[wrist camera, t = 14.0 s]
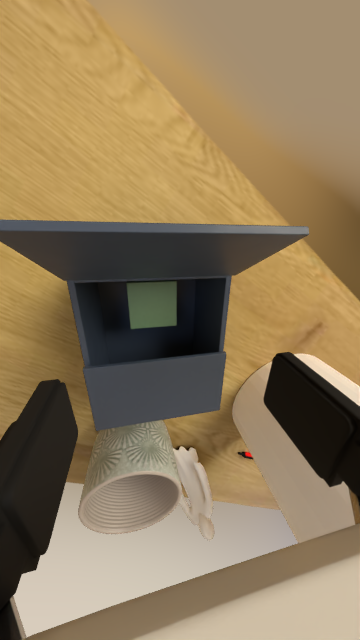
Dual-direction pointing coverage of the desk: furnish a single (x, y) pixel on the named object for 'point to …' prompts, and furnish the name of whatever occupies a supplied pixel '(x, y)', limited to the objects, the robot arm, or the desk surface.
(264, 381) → the white rounded tall casing
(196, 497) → the figurine
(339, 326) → the desk surface
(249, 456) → the pen
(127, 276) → the flap
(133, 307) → the block
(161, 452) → the planter
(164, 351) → the carton
